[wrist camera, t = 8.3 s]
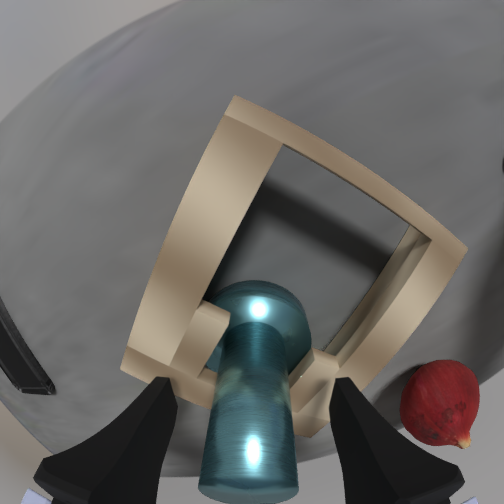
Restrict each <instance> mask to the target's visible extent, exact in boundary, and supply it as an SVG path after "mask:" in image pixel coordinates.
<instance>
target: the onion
mask: <svg viewBox="0 0 504 504" xmlns="http://www.w3.org/2000/svg"><path fill="white" fill-rule="evenodd" d="M479 397H480V394H479V385H478V381H477V378H476V376H475V375H474V373H473V371H472V370H470V369H469V368H467V367H466V366H465V365H463V364H461V363H460V362H458V361H453V360H436V361H433V362H430V363H427V364H425V365H423V366H421V367H420V368H419V369H418V370H417V371H416V372H415V373H414V374H413V375H412V376H411V378H410V379H409V381H408V383H407V384H406V386H405V388H404V390H403V392H402V396H401V403H400V416H401V421H402V423H403V425H404V427H405V429H406V430H407V431H409V433H411V434H412V435H413V437H414V438H416V439H417V440H419V441H420V442H422V443H425V444H427V445H431V446H442V445H454V446H457V447H459V448H461V449H465V448H467V447H469V446H470V442H471V439H470V433H469V431H470V428H471V426H472V424H473V422H474V420H475V418H476V415H477V412H478V408H479Z"/></svg>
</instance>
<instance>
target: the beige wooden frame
mask: <svg viewBox="0 0 504 504" xmlns="http://www.w3.org/2000/svg"><path fill="white" fill-rule="evenodd" d="M282 145H284V146H286V147H287V148H289V149H291V150H293V151H295V152H297V153H298V154H300V155H302V156H304V157H306V158H307V159H309V160H311V161H313V162H314V163H316V164H318V165H320V166H321V167H323V168H325V169H326V170H328V171H330V172H331V173H333V174H335V175H336V176H338V177H340V178H341V179H343V180H344V181H346V182H348V183H349V184H351V185H352V186H354V187H355V188H357V189H359V190H360V191H362V192H363V193H365V194H366V195H368V196H369V197H371V198H372V199H374V200H375V201H377V202H378V203H380V204H381V205H383V206H384V207H385V208H387V209H388V210H390V211H391V212H393V213H394V214H395V215H397V216H398V217H400V218H401V219H402V220H404V221H405V222H406V223H408V224H409V225H410V226H409V228H408V229H407V231H406V233H405V235H404V236H403V238H402V240H401V241H400V243H399V245H398V246H397V248H396V250H395V251H394V253H393V254H392V256H391V258H390V259H389V261H388V262H387V264H386V266H385V267H384V269H383V270H382V272H381V273H380V275H379V276H378V278H377V279H376V281H375V282H374V284H373V285H372V287H371V288H370V290H369V291H368V293H367V294H366V295H365V297H364V298H363V300H362V301H361V303H360V304H359V305H358V307H357V308H356V310H355V311H354V312H353V314H352V315H351V316H350V318H349V319H348V320H347V322H346V323H345V324H344V326H343V327H342V328H341V330H340V331H339V332H338V334H337V335H336V336H335V338H334V339H333V340H332V341H331V343H330V344H329V345H328V346H327V348H326V349H325V350H324V351H320V350H318V349H315V348H311V349H310V350H309V352H308V353H307V354H306V355H305V357H304V358H303V359H302V360H301V362H300V363H299V364H298V365H297V366H296V368H295V369H294V370H293V371H292V373H291V374H290V375H289V376H288V379H289V388H290V398H291V408H292V418H293V428H294V434H295V435H300V436H304V437H309V438H311V437H312V436H313V435H315V434H316V433H317V432H318V431H319V430H320V429H322V428H323V427H324V426H325V425H326V424H327V423H328V422H330V415H329V403H330V399H331V395H332V391H333V387H334V382H335V378H342V377H350V378H351V380H352V381H353V382H354V384H355V385H356V386H357V388H358V389H359V390H360V391H362V390H363V389H364V388H365V387H366V386H367V385H368V384H369V383H370V382H371V381H372V380H373V379H374V378H375V376H376V375H377V374H378V373H379V372H380V371H381V370H382V369H383V368H384V367H385V365H386V364H387V363H388V362H389V361H390V360H391V359H392V357H393V356H394V355H395V354H396V353H397V351H398V350H399V349H400V348H401V347H402V345H403V344H404V343H405V342H406V341H407V339H408V338H409V337H410V335H411V334H412V333H413V332H414V330H415V329H416V328H417V326H418V325H419V324H420V322H421V321H422V320H423V318H424V317H425V316H426V314H427V313H428V311H429V310H430V309H431V307H432V306H433V304H434V303H435V302H436V300H437V299H438V297H439V296H440V294H441V293H442V291H443V290H444V288H445V287H446V285H447V283H448V282H449V280H450V279H451V277H452V275H453V274H454V272H455V271H456V269H457V267H458V266H459V264H460V262H461V260H462V259H463V257H464V255H465V254H466V252H467V250H468V248H467V247H466V246H465V245H464V244H463V243H462V242H461V241H459V240H458V239H457V238H456V237H455V236H454V235H453V234H452V233H451V232H449V231H448V230H447V229H446V228H445V227H444V226H443V225H441V224H440V223H439V222H438V221H437V220H435V219H434V218H433V217H432V216H431V215H429V214H428V213H427V212H426V211H425V210H423V209H422V208H421V207H420V206H418V205H417V204H416V203H414V202H413V201H412V200H411V199H409V198H408V197H407V196H405V195H404V194H403V193H401V192H400V191H399V190H397V189H396V188H395V187H393V186H392V185H391V184H389V183H388V182H386V181H385V180H384V179H382V178H381V177H379V176H378V175H377V174H375V173H374V172H372V171H371V170H369V169H368V168H366V167H365V166H363V165H362V164H360V163H359V162H357V161H356V160H354V159H353V158H351V157H349V156H348V155H346V154H345V153H343V152H342V151H340V150H338V149H337V148H335V147H333V146H332V145H330V144H329V143H327V142H325V141H323V140H322V139H320V138H318V137H317V136H315V135H313V134H311V133H310V132H308V131H306V130H304V129H302V128H301V127H299V126H297V125H295V124H293V123H291V122H290V121H288V120H286V119H284V118H282V117H280V116H278V115H276V114H274V113H272V112H270V111H268V110H266V109H264V108H262V107H260V106H258V105H256V104H254V103H252V102H249V101H247V100H245V99H243V98H241V97H238V96H236V95H234V97H233V99H232V101H231V103H230V104H229V106H228V108H227V110H226V112H225V114H224V115H223V117H222V119H221V121H220V123H219V125H218V127H217V129H216V130H215V132H214V134H213V136H212V138H211V140H210V142H209V144H208V146H207V148H206V150H205V152H204V154H203V156H202V158H201V160H200V162H199V164H198V166H197V168H196V171H195V173H194V175H193V177H192V179H191V181H190V183H189V185H188V188H187V190H186V192H185V194H184V196H183V199H182V201H181V203H180V205H179V208H178V210H177V212H176V214H175V217H174V219H173V221H172V224H171V226H170V229H169V231H168V233H167V236H166V238H165V241H164V243H163V246H162V248H161V251H160V253H159V256H158V258H157V261H156V263H155V266H154V269H153V271H152V274H151V277H150V279H149V282H148V285H147V287H146V290H145V293H144V296H143V299H142V301H141V304H140V307H139V310H138V313H137V316H136V319H135V322H134V325H133V328H132V331H131V334H130V337H129V341H128V344H127V347H126V350H125V354H124V357H123V361H122V364H121V367H120V369H121V370H123V371H124V372H126V373H128V374H130V375H132V376H134V377H136V378H138V379H140V380H142V381H144V382H146V383H149V384H150V383H151V382H152V380H153V379H154V378H155V377H156V376H159V377H169V378H170V382H171V385H172V389H173V392H174V395H175V396H178V397H180V398H182V399H185V400H187V401H190V402H192V403H195V404H197V405H200V406H203V407H205V408H208V409H211V407H212V402H213V396H214V390H215V385H216V379H217V372H214V371H212V370H209V369H207V368H204V365H205V364H206V362H207V360H208V359H209V357H210V355H211V354H212V352H213V350H214V349H215V347H216V345H217V344H218V342H219V340H220V339H221V337H222V335H223V333H224V332H225V330H226V328H227V327H228V325H229V320H230V314H231V313H230V312H228V311H226V310H224V309H221V308H219V307H217V306H215V305H213V304H211V303H209V302H207V301H204V300H202V297H203V295H204V293H205V291H206V289H207V287H208V285H209V283H210V281H211V279H212V277H213V275H214V273H215V271H216V270H217V268H218V266H219V264H220V262H221V260H222V258H223V256H224V254H225V252H226V250H227V248H228V246H229V244H230V242H231V240H232V238H233V236H234V234H235V233H236V231H237V229H238V227H239V225H240V223H241V221H242V219H243V217H244V215H245V213H246V211H247V210H248V208H249V206H250V204H251V202H252V200H253V198H254V196H255V194H256V193H257V191H258V189H259V187H260V185H261V183H262V181H263V179H264V178H265V176H266V174H267V172H268V170H269V168H270V166H271V165H272V163H273V161H274V159H275V157H276V155H277V154H278V152H279V150H280V148H281V146H282Z"/></svg>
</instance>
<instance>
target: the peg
mask: <svg viewBox="0 0 504 504" xmlns="http://www.w3.org/2000/svg"><path fill="white" fill-rule="evenodd" d="M209 303H211V304H213V305H215V306H217V307H219V308H221V309H224V310H226V311H228V312H230V313H231V314H230V320H229V325H228V327H227V328H226V330H225V332H224V333H223V335H222V337H221V339H220V340H219V342H218V344H217V345H216V347H215V349H214V350H213V352H212V354H211V355H210V357H209V359H208V360H207V362H206V366H207V367H208V368H209V369H210V370H212V371H214V372H217V379H216V385H215V390H214V396H213V402H212V407H211V413H210V419H209V425H208V430H207V436H206V442H205V448H204V454H203V460H202V466H201V472H200V478H199V484H198V489H199V491H200V492H201V493H202V494H204V495H205V496H207V497H209V498H211V499H214V500H216V501H220V502H223V503H228V504H275V503H280V502H283V501H286V500H289V499H291V498H292V497H294V496H295V495H296V494H297V493H298V491H299V486H298V473H297V461H296V450H295V439H294V428H293V418H292V408H291V398H290V388H289V379H288V376H289V375H290V374H291V373H292V371H293V370H294V369H295V368H296V366H297V365H298V364H299V363H300V362H301V360H302V359H303V358H304V357H305V355H306V354H307V353H308V352H309V350H310V349H311V333H310V329H309V325H308V321H307V317H306V314H305V311H304V308H303V306H302V304H301V303H300V302H299V300H298V299H297V298H296V297H295V296H294V295H293V294H292V293H291V292H289V291H288V290H286V289H285V288H283V287H281V286H279V285H277V284H274V283H270V282H266V281H257V280H251V281H242V282H238V283H234V284H231V285H229V286H227V287H225V288H223V289H222V290H220V291H219V292H218V293H216V294H215V295H214V296H213V297H212V298H211V300H210V301H209Z"/></svg>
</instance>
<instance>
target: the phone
mask: <svg viewBox="0 0 504 504" xmlns="http://www.w3.org/2000/svg"><path fill="white" fill-rule="evenodd" d="M0 367H1V369H2V370H3V371H4V373H5V374H6V376H7V377H8V378H9V380H10V381H11V383H12V384H13V385H14V386H15V387H16V388H17V389H18V390H19V391H20V392H22V393H28V394H41V395H51V393H52V392H53V391H54V389H55V386H54V384H53V382H52V381H51V379H50V378H49V377H48V375H47V374H46V372H45V371H44V370H43V368H42V367H41V365H40V364H39V362H38V361H37V360H36V358H35V357H34V355H33V354H32V352H31V350H30V349H29V347H28V346H27V344H26V343H25V341H24V339H23V338H22V336H21V334H20V333H19V331H18V329H17V327H16V326H15V324H14V322H13V320H12V319H11V317H10V315H9V313H8V311H7V309H6V307H5V305H4V303H3V301H2V299H1V297H0Z"/></svg>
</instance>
